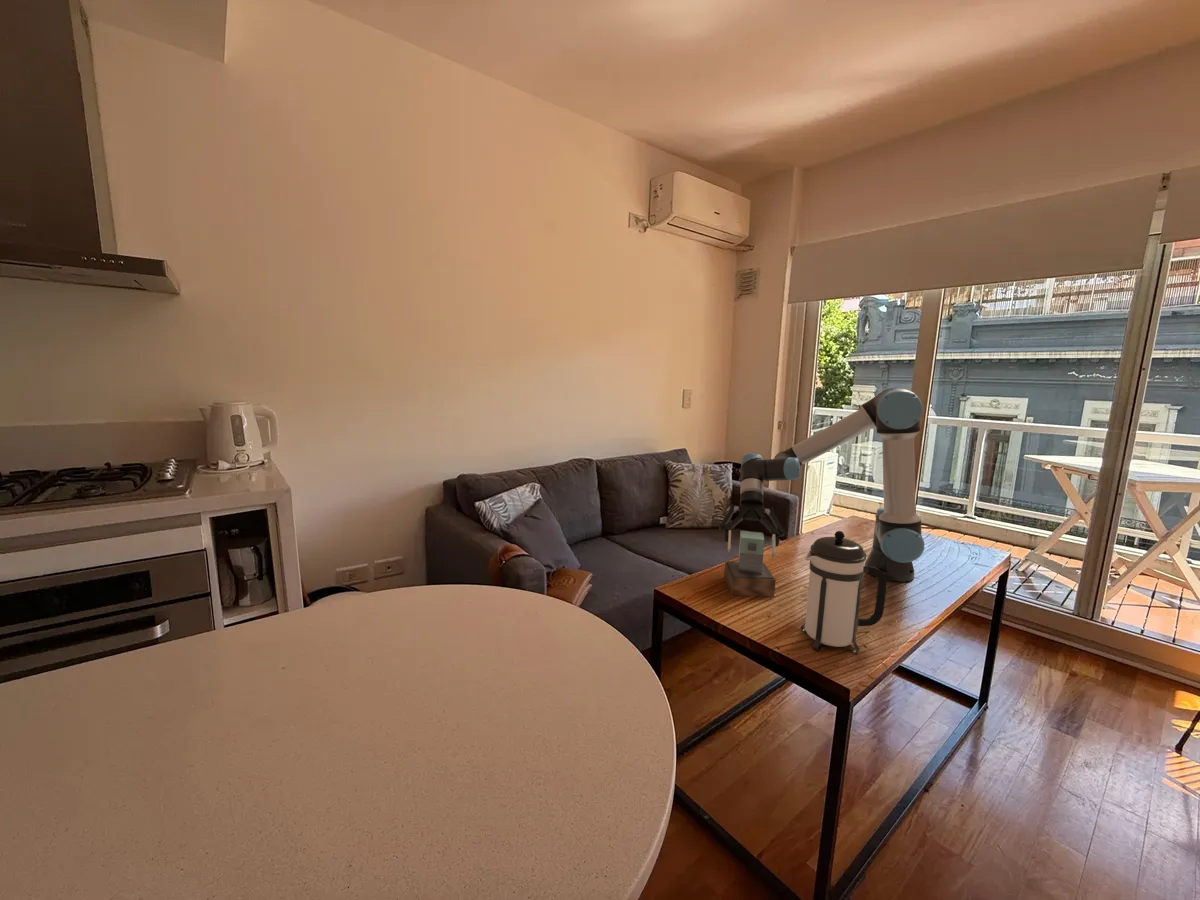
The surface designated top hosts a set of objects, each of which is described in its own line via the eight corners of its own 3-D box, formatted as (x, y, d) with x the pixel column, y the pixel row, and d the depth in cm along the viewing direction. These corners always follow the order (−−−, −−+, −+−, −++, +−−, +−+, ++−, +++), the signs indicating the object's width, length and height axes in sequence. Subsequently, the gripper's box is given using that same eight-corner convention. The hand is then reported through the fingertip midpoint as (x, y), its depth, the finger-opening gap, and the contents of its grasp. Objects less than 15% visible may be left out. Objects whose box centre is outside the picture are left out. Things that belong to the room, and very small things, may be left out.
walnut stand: (763, 579, 168) (764, 562, 167) (774, 596, 156) (775, 578, 155) (724, 577, 169) (725, 560, 168) (731, 594, 156) (733, 576, 155)
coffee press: (845, 666, 120) (858, 547, 115) (786, 637, 132) (796, 528, 127) (880, 644, 130) (894, 533, 125) (822, 618, 143) (832, 517, 137)
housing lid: (761, 547, 163) (762, 532, 162) (763, 556, 155) (764, 541, 154) (739, 545, 164) (740, 530, 164) (740, 554, 156) (741, 539, 155)
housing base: (760, 566, 164) (761, 547, 163) (761, 574, 157) (763, 555, 156) (738, 563, 166) (739, 545, 164) (738, 572, 159) (739, 552, 158)
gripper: (789, 503, 170) (791, 561, 158) (713, 497, 176) (710, 553, 164) (792, 492, 164) (795, 551, 152) (714, 486, 170) (711, 543, 158)
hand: (751, 553), depth 158 cm, fingers open, 13 cm apart
